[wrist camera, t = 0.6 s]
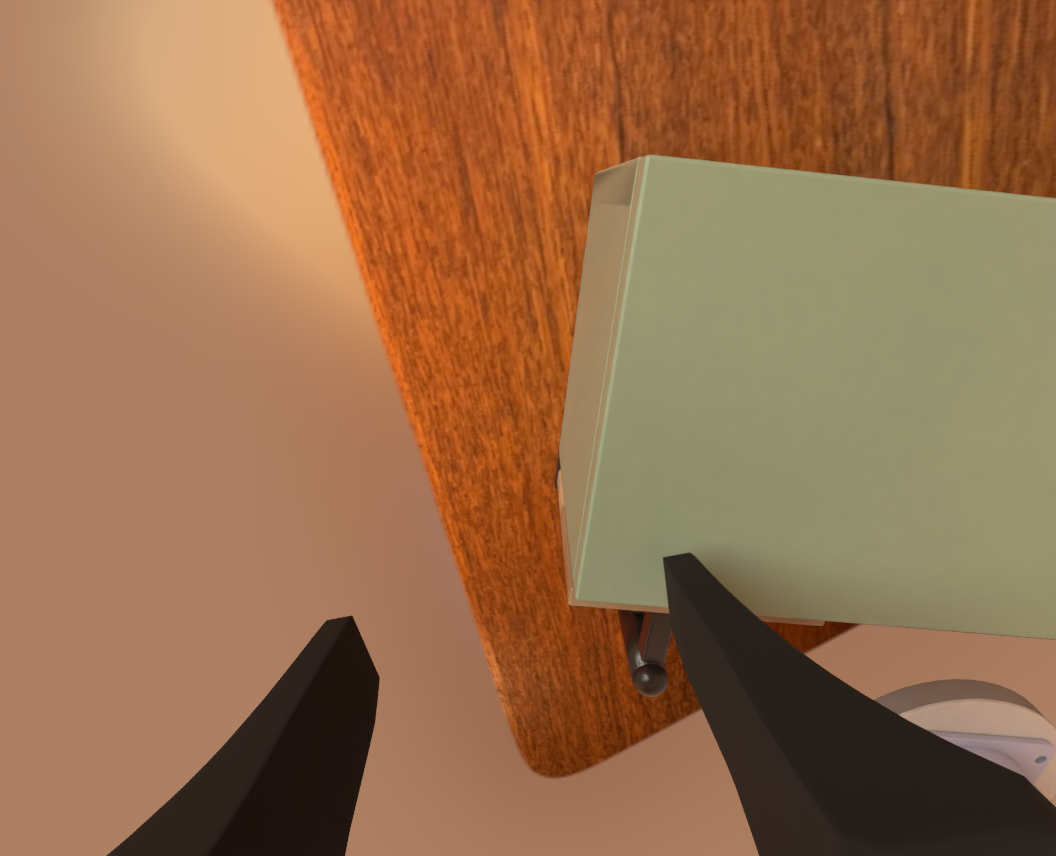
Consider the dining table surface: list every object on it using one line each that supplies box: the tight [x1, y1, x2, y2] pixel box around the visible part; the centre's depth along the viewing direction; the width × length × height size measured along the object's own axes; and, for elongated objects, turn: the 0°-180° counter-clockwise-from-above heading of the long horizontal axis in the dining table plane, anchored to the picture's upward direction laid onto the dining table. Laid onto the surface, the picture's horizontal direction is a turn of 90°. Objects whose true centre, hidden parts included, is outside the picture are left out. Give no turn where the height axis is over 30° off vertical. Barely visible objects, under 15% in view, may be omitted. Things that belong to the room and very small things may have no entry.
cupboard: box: [555, 154, 1056, 640], centre depth 17 cm, size 11×14×9 cm
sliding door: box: [557, 470, 825, 697], centre depth 19 cm, size 6×7×7 cm
